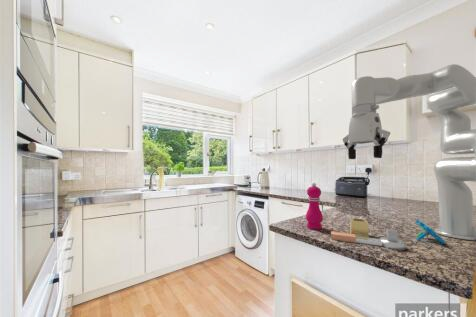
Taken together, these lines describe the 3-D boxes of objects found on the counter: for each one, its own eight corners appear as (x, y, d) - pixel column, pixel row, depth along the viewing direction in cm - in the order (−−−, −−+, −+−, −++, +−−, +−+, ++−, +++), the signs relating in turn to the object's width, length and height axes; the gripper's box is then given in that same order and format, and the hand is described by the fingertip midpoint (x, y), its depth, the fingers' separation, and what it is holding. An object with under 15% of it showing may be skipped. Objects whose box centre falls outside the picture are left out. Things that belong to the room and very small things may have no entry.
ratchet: (401, 244, 70) (401, 228, 71) (408, 252, 64) (407, 234, 64) (331, 235, 80) (331, 221, 80) (331, 240, 74) (330, 225, 74)
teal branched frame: (451, 243, 67) (421, 219, 72) (435, 254, 69) (407, 229, 74) (440, 238, 77) (415, 217, 82) (426, 248, 78) (402, 226, 83)
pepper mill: (311, 224, 95) (310, 182, 96) (326, 228, 89) (325, 183, 90) (302, 227, 90) (302, 182, 91) (317, 231, 85) (317, 183, 86)
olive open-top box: (366, 234, 81) (366, 219, 82) (368, 238, 76) (368, 222, 76) (350, 232, 84) (349, 217, 84) (351, 236, 79) (351, 220, 79)
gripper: (396, 106, 67) (397, 157, 66) (350, 118, 83) (350, 159, 82) (381, 103, 64) (382, 156, 63) (336, 116, 80) (336, 159, 79)
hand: (364, 158), depth 73 cm, fingers open, 9 cm apart
